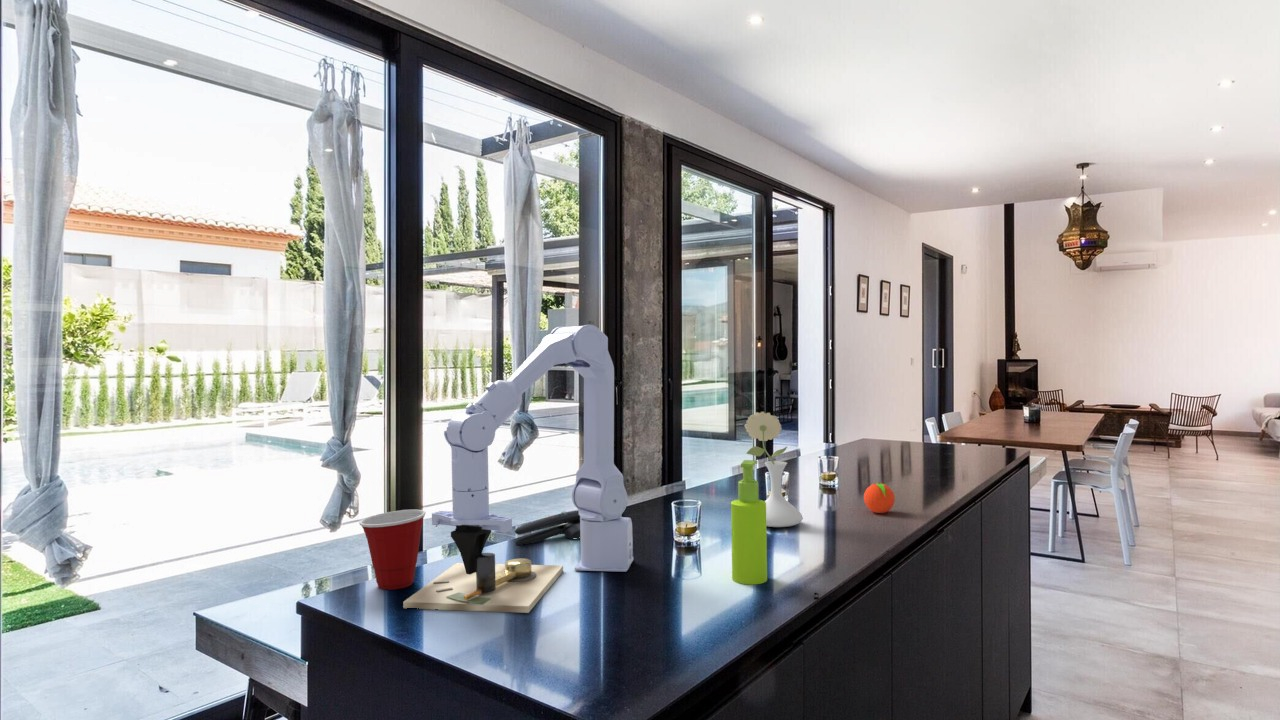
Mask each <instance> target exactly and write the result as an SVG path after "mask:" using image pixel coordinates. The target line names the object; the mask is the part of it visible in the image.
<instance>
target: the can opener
mask: <svg viewBox="0 0 1280 720" xmlns="http://www.w3.org/2000/svg"><path fill="white" fill-rule="evenodd" d="M539 530H540V531H539ZM514 533H515V534H516V535H518V536H519V535H520V536H521V535H524V536H521V537H519V538H517V539H516V540H515V544H516V545H517V546H524V545H523V544H526V545H530V544H529V543H531V544H535V542H536V543H539V542H542V541H544V540H547V539H549V538H551V537H552V538H553V537H555V536H558V535H564V536H565V537H566V538H568V539H571V540H574V539H573V538H579V537H580V515H579V510H578V509H577V510H573V511H561V513H558V514H555V515H551V516H547V517H544V518H540V519H538V520H535V521H532V522H529V523H526V524H524V525H521V526H518V527H517V528H516V529H515V530H514ZM528 533H530V534H528ZM525 534H527V535H525Z"/></svg>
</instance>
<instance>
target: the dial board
mask: <svg viewBox="0 0 1280 720" xmlns="http://www.w3.org/2000/svg"><path fill="white" fill-rule="evenodd" d="M531 570H532V573H531V575H529V576H526V577H521V578H512V579H510V580H508V581H506V582H504V583H502V584H500V585H498V586H496V589H495V590H494V591H492V592H488V593H480V594H478V595H476V596H474V597H472V598H470V599H468V600H465V599H464V596H465V595H467V594H470V593H472V592H474V591H476V572H475V573H473V574H466V570H465V567H464V563H463V562H455V563H454V564H452V565H451V566H450V567H448V568H447V569H446V570H445V571H443V572H442V573H441V574H439V575H438V576H436V577H435V578H433V579H432V580H431V581H430V582H428V583H427V584H426V585H424V586H422V587H421V588H420V589H419V590H417V591H416V592H415V593H413V594H412V595H410V596H409V597H407V598H406V599H405V600H404V601H403V603H402V604H403V605H402V607H403V608H402V609H407V608H417V609H416V610H435V609H438V611H442V610H443V611H464V612H465V611H466V612H467V611H468V612H490V613H491V612H494V613H495V612H496V613H519V614H520V613H522V614H523V613H525V614H529V613H530V612H531V610H533V608H534V607H535V606H536V605H537V604H538V602H539V601H540V600H541V599H542V598H543V596H544V595H545V594H546V593H547V591H549V589H550V588H551V587H552V585H553V584H554V583H555V582H556V580H557V579H558V578H559V577H560V576H561V575H562V574H563V572H564V565H557V564H556V565H553V564H552V565H551V564H550V565H549V564H531ZM503 571H505V563H495V575H496V574H498V573H501V572H503ZM418 608H419V609H418Z"/></svg>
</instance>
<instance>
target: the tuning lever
mask: <svg viewBox="0 0 1280 720" xmlns="http://www.w3.org/2000/svg"><path fill="white" fill-rule="evenodd" d="M495 564H496V554H495V553H493V552H482V553H480V554H477V555H476V591H474V592H472V593H470V594H467V595H465V596H464V599H465V600H468V599H470V598H472V597H474V596H476V595H478V594H480V593H488V592H492V591H494V590H495V589H496V586H498V585H500V584H502V583H504V582H506V581H508V580H510V579H512V578H521V577H526V576H529V575H531V573H532V570H531V565H532V560H531V559H528V558H523V557H522V558H520V557H519V558H513V559H512V558H511V559H509V560H506V561H505V563H504V564H505V571H503V572H501V573H498V574H496V575H495Z"/></svg>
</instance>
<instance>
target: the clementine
mask: <svg viewBox="0 0 1280 720" xmlns="http://www.w3.org/2000/svg"><path fill="white" fill-rule="evenodd" d="M895 496H896V495H895V493H894V491H893V489H891V487H890V486H889V485H887V484H885V483H880V482H877V483H872V484H871V485H869V486H868V487H867V488H866V489H865V491H864V493H863V502H864V504H865V506H866V507H867V508H868V510H869V511H870V512H874V513H876V514H885V513H887V512H889V511H890V510H891V509H892V508H893V506H894V504H895V501H896V497H895Z"/></svg>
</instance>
